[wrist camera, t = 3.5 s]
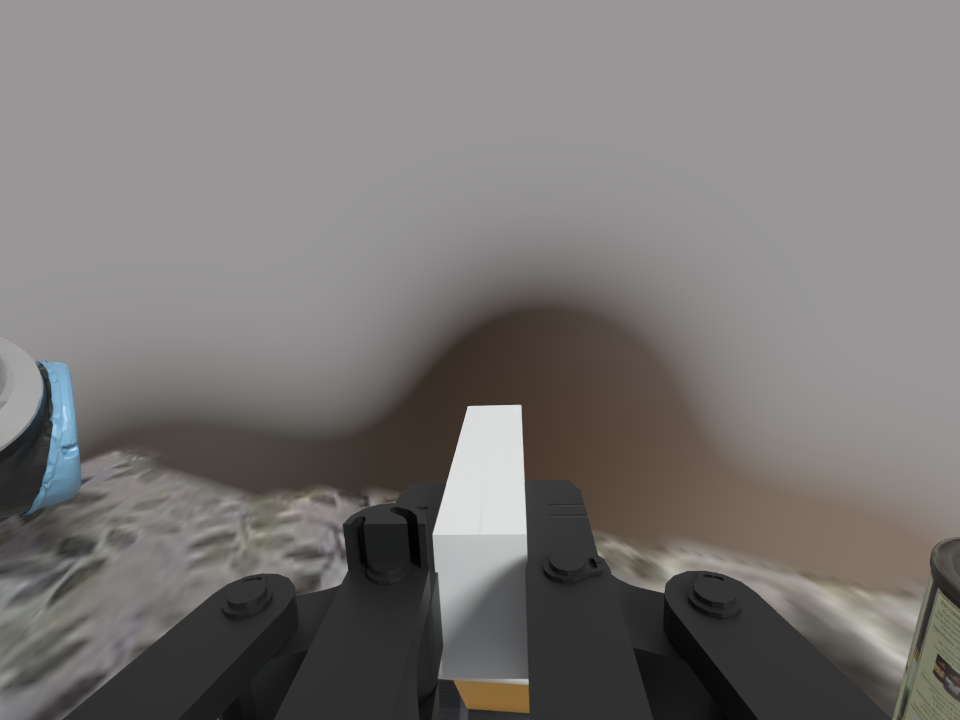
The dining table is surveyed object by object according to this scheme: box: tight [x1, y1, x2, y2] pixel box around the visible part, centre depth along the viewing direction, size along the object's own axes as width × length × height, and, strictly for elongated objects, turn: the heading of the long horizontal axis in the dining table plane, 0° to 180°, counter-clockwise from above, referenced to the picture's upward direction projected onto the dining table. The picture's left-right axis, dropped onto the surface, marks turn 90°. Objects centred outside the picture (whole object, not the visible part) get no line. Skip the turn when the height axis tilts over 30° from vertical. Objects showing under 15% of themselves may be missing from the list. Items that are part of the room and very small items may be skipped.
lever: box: [438, 657, 530, 713], centre depth 27 cm, size 3×7×15 cm
